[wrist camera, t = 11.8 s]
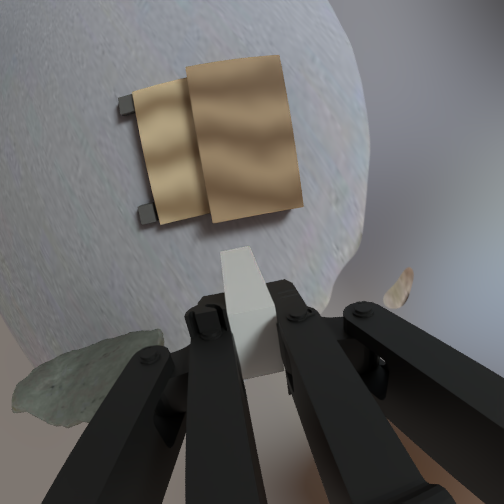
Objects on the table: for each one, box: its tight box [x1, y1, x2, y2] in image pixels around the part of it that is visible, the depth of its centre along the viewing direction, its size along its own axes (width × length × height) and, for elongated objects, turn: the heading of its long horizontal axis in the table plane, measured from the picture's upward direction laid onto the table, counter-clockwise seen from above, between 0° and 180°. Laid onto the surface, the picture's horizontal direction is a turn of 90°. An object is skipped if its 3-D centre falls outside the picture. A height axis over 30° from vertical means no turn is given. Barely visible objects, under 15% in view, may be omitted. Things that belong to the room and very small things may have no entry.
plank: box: [132, 78, 211, 225], centre depth 37 cm, size 18×9×5 cm, turn 11°
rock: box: [12, 329, 164, 428], centre depth 35 cm, size 27×6×20 cm, turn 111°
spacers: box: [118, 94, 158, 225], centre depth 37 cm, size 17×2×2 cm, turn 9°
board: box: [186, 55, 304, 223], centre depth 37 cm, size 20×12×4 cm, turn 9°
